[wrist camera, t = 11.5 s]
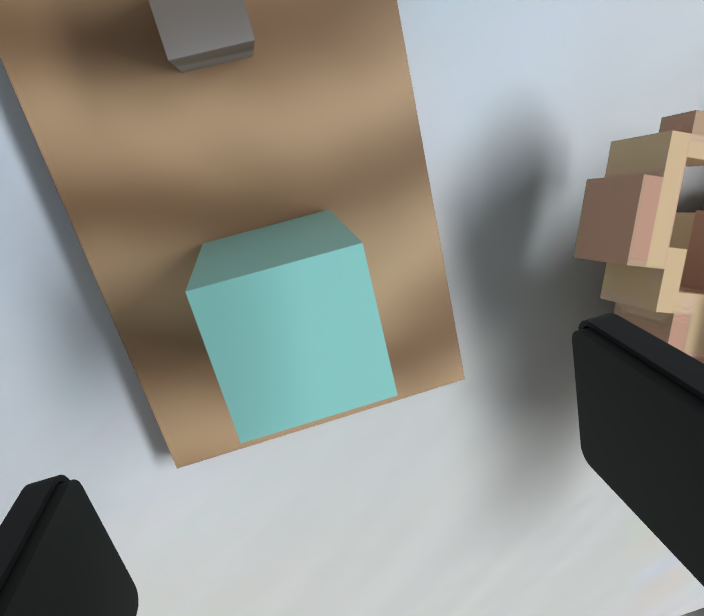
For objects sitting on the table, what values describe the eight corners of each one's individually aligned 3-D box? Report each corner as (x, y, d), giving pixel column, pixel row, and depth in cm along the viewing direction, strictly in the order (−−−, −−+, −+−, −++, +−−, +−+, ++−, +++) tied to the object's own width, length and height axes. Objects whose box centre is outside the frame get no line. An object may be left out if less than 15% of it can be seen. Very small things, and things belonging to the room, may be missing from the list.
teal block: (202, 243, 21) (185, 291, 15) (329, 209, 22) (362, 243, 16) (242, 358, 23) (240, 443, 17) (357, 324, 23) (397, 395, 17)
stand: (-48, -86, 18) (-158, -164, 13) (356, -168, 19) (393, -267, 14) (180, 453, 26) (164, 530, 21) (455, 368, 27) (501, 422, 22)
